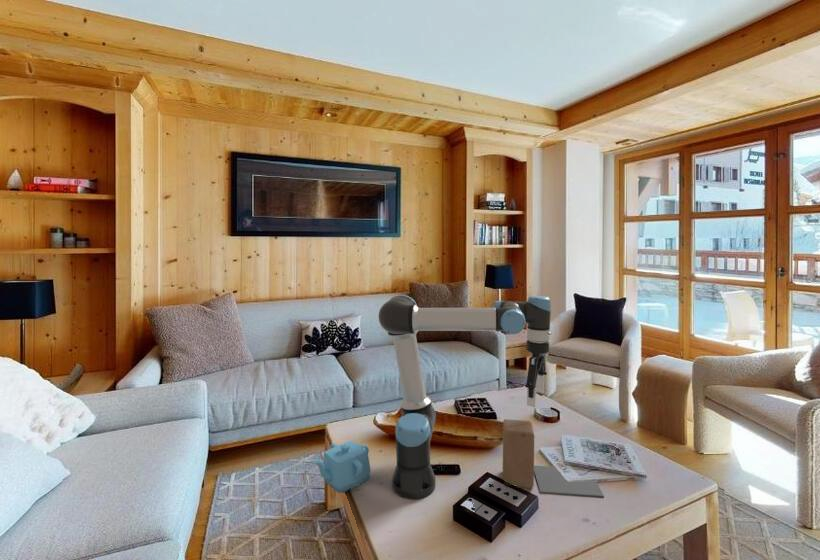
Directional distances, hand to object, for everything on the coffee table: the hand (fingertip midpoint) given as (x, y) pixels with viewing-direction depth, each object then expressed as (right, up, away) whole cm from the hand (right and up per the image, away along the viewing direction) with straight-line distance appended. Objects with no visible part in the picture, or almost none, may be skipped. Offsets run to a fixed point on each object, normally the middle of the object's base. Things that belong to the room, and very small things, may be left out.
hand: (535, 398), depth 138 cm
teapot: (-68, -30, -1) cm, 74 cm away
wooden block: (-7, -28, -1) cm, 29 cm away
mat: (+10, -28, -2) cm, 30 cm away
